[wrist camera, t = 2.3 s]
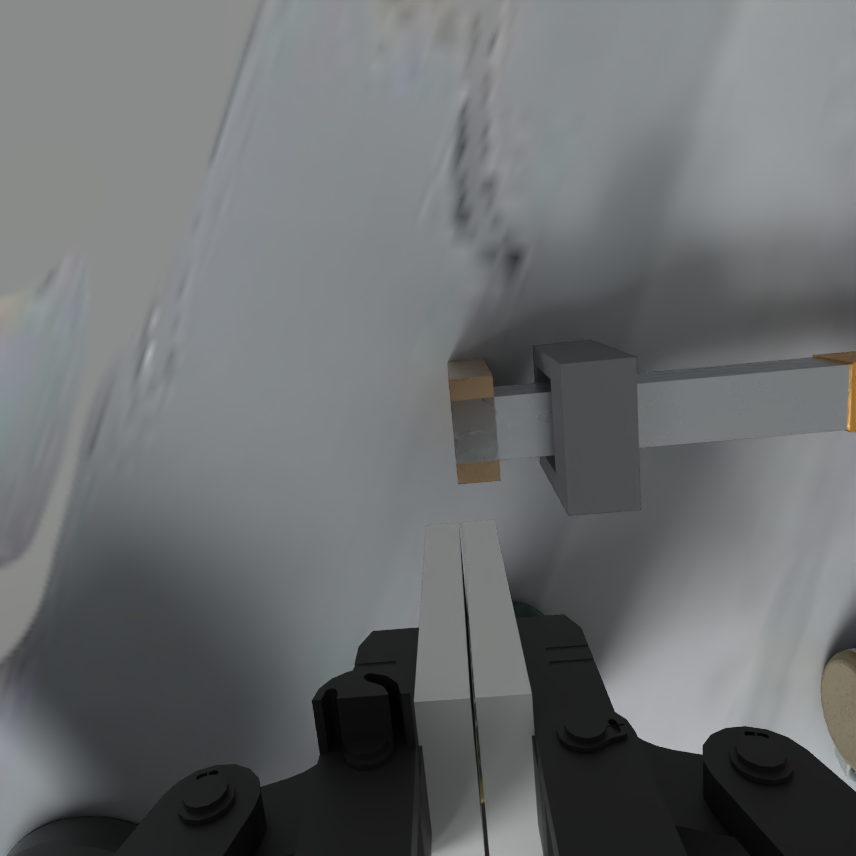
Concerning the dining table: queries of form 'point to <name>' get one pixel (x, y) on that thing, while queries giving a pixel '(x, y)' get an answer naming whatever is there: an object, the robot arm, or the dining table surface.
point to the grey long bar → (656, 408)
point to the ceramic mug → (841, 707)
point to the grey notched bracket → (592, 426)
